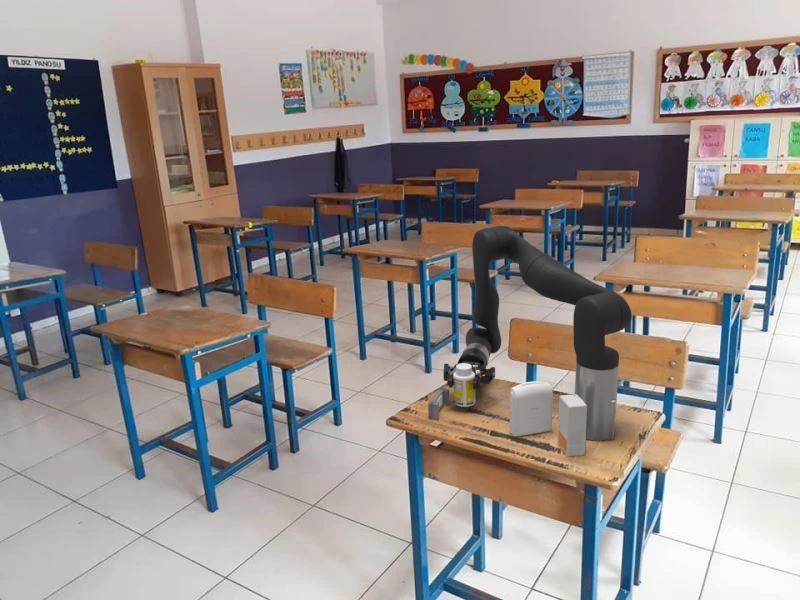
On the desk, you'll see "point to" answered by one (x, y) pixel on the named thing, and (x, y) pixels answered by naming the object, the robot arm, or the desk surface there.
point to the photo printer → (531, 408)
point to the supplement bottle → (464, 385)
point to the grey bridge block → (438, 403)
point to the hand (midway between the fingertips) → (462, 385)
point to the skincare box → (572, 425)
